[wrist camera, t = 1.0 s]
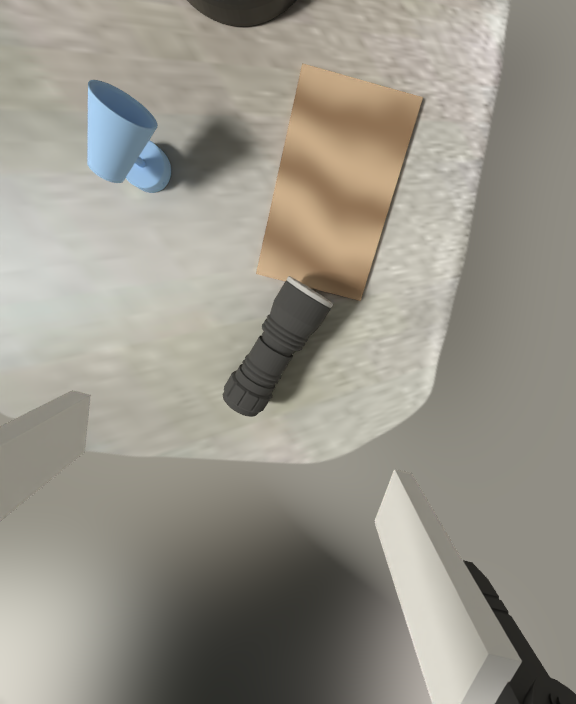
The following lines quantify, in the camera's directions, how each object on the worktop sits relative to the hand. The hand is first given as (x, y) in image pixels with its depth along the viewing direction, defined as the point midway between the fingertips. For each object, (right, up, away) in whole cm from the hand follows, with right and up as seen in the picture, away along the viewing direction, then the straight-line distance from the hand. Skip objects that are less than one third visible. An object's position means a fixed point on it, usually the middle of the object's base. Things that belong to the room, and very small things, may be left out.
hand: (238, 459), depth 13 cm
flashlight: (+1, +6, +23) cm, 24 cm away
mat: (+7, +21, +19) cm, 29 cm away
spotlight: (-12, +24, +19) cm, 33 cm away
